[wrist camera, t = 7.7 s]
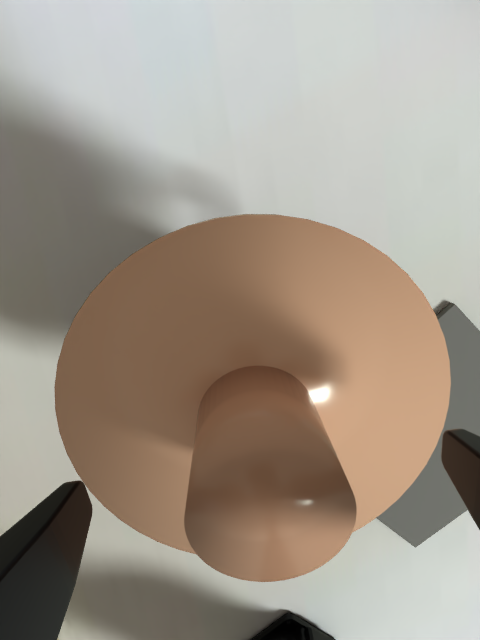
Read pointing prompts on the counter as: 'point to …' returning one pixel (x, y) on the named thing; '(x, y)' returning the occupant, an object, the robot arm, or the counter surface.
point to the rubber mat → (463, 412)
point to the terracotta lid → (253, 391)
